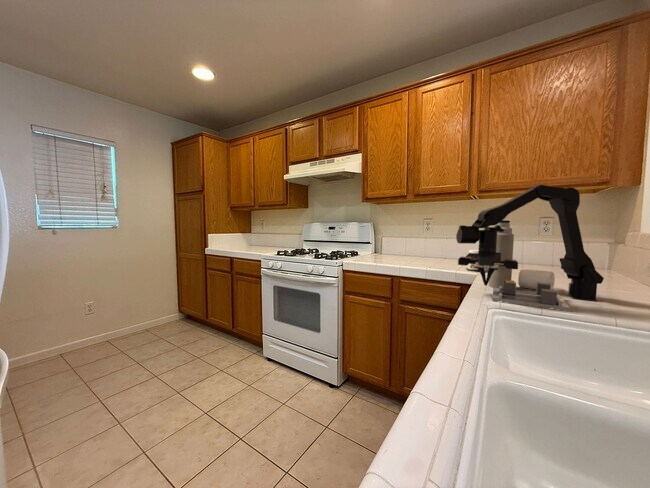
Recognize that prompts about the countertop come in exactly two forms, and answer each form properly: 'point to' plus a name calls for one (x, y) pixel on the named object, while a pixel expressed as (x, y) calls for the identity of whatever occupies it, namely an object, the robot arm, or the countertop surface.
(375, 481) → the countertop surface
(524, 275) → the mug
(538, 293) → the breaker panel
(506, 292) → the block
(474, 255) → the spread jar
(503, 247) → the thermos bottle
